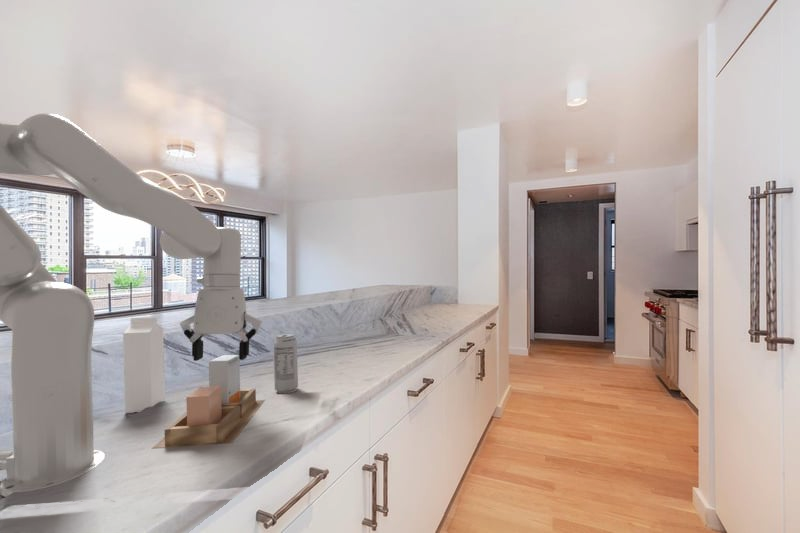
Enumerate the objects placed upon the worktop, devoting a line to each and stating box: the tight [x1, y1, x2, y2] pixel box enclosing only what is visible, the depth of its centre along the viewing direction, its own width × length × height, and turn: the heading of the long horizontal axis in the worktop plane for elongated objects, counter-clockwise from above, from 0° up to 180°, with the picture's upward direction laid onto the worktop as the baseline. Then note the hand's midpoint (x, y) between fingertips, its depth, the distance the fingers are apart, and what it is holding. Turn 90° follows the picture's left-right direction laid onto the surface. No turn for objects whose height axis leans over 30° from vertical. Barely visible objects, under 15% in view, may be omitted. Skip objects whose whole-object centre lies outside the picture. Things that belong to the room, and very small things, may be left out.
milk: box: [122, 316, 166, 414], centre depth 90 cm, size 6×6×22 cm
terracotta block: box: [185, 386, 222, 426], centre depth 73 cm, size 4×6×8 cm, turn 5°
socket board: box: [152, 388, 266, 449], centre depth 78 cm, size 14×22×4 cm, turn 5°
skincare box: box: [208, 354, 241, 404], centre depth 83 cm, size 6×4×12 cm
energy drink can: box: [273, 333, 299, 395], centre depth 100 cm, size 6×6×15 cm
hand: (220, 359), depth 83 cm, fingers open, 9 cm apart
